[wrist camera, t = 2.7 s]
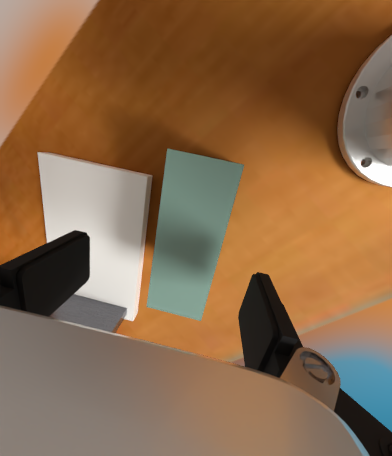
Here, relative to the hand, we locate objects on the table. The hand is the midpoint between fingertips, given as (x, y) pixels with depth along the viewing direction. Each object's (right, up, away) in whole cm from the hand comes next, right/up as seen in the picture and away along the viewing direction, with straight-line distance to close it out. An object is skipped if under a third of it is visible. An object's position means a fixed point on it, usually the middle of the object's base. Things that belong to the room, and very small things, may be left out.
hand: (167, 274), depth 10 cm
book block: (+2, +4, +11) cm, 12 cm away
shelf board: (-11, +1, +14) cm, 18 cm away
